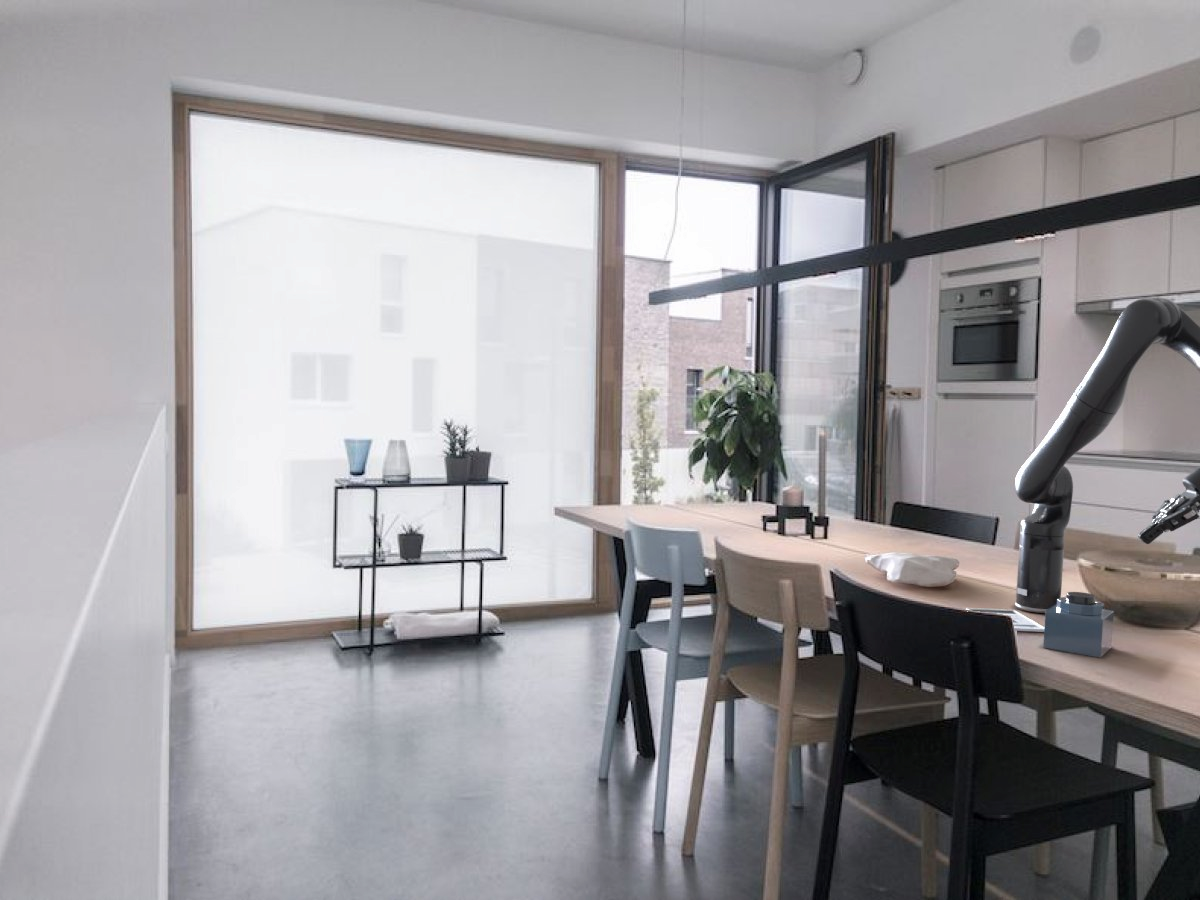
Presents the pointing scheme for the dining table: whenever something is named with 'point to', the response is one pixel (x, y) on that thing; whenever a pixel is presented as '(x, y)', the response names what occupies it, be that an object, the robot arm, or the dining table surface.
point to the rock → (915, 568)
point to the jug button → (1080, 598)
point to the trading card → (1015, 619)
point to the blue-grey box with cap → (1078, 628)
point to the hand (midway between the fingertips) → (1142, 540)
